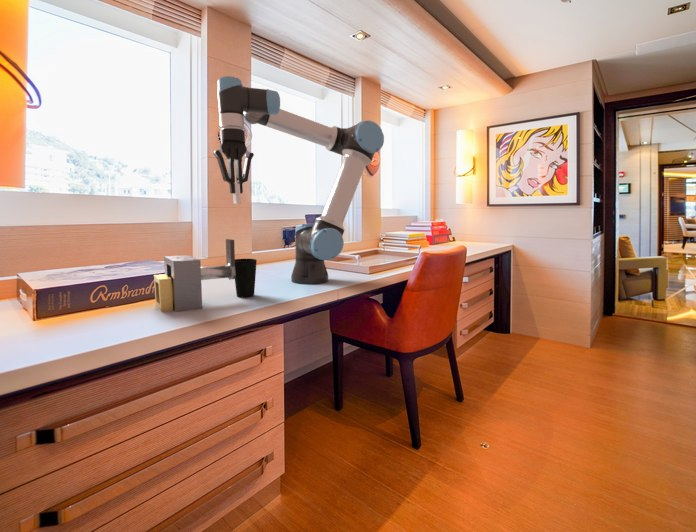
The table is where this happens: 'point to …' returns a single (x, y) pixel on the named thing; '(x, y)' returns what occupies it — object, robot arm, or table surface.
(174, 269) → the block
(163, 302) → the block
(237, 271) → the cup
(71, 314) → the table surface
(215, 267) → the shaft
